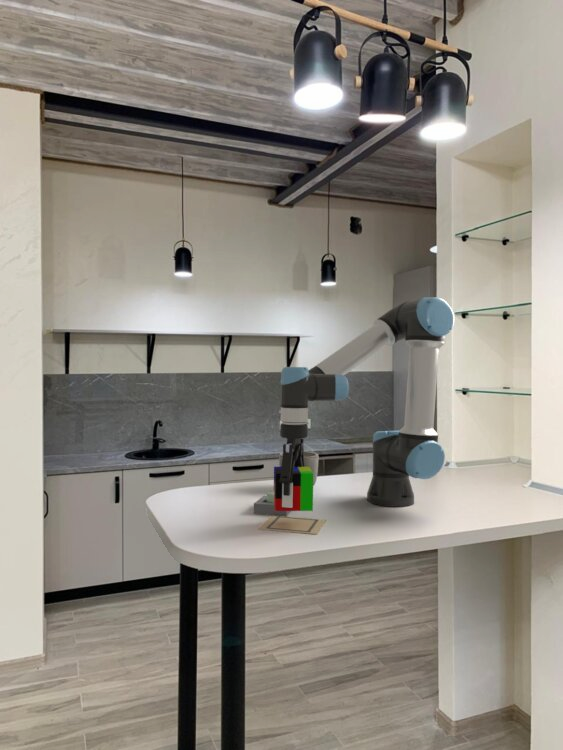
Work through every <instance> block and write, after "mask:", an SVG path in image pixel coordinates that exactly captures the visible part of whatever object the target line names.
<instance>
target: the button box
mask: <svg viewBox="0 0 563 750" xmlns="http://www.w3.org/2000/svg"><path fill="white" fill-rule="evenodd" d="M266 496H267V495H262V496H261V497H260V498H259V499H257V501H255V502H254V503H253V514H256V515H257V514H258V515H267V516H268V515H270V516H272V515H273V516H285V517H288V515H289V514H290V513H291V512H292V511H275V506H274V503H266Z"/></svg>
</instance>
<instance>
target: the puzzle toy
mask: <svg viewBox="0 0 563 750" xmlns="http://www.w3.org/2000/svg"><path fill="white" fill-rule="evenodd" d="M280 475H281V467H279V466H273V492H274V506H275V511H291V512H313V511H314V486H313V472H312V471H311V469H310V467H294V471H293V477H292V483H293V507H292V508H287V507H282V483H279V479H280ZM287 478H288V477H287Z"/></svg>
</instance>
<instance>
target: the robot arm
mask: <svg viewBox="0 0 563 750" xmlns="http://www.w3.org/2000/svg"><path fill="white" fill-rule="evenodd" d="M454 325H455V314H454V312H453V309H452V307H451V306H450V305H449V303H448V302H447V301H446V300H445V299H443V298H441V297H435V296H431V297H430V296H429V297H428V296H427V297H423V298H420V299H419V298H418V299H415V300H406V301H403V302H401V303H399V304H396V305H395V306H394V307H393V308H391V309H389V310H388V311H386V312H385V313H384V314H382V315H381V316H380V317H378V318H377V319H375V320H374V321H373V323H372V326H371V327H369V328H368V329H366V330H365V331H363V332H362V333H361V334H359V335H358V336H356V337H355V338H354V339H351V340H350V341H349V342H348V343H346V344H345V345H344V346H342V347H341V348H340V347H339V349H338V350H336V351H334V352H333V353H331V354H330V355H329V356H327V357H326V358H325V359H323V360H322V361H320V362H319V363H317V364H316V365H315V366H313V367H312V368H310V369H309V368H308V367H306V366H303V367H302V366H299V367H298V366H285V367H283V368H282V370H281V374H280V383H279V384H280V409H279V411H278V413H279V414H280V422H282V423H280V425H279V427H280V428H279V429H280V430H279V432H280V433H279V437H281V438H283V439H284V438H285V439H286V443H283V445H282V452H283V457H282V466H281V475H280V479H279V483H282V507H287V508H292V507H293V483H292V477H293V471H294V467H305V460H304V451H305V450H304V442H305V441H304V439H306V438H307V437H308V424H307V422H308V420H309V402H336V401H337V402H338V401H339V402H340V401H344V400H345V399H347V397H348V395H349V391H350V384H349V381H348V378H347V377H346V376H345V375H347V374H349V373H350V372H351V371H352V370H353V369H355V368H356V367H358V366H360V365H361V364H362V363H364V362H365V361H367V360H369V359H370V358H371V357H372V356H373V355H375V354H376V353H378V352H380V351H381V350H382V349H383V348H385V347H386V346H389V347H390V346H393V345H395V344H396V343H397V342H399V341H402V340H404V342H405V344H406V345H407V346H408V347H409V354H408V355H409V356H408V366H407V367H408V369H407V381H406V382H407V384H406V385H407V386H406V397H405V398H406V399H405V409H404V410H405V411H404V423H403V424H404V426H403V427H401V428H400V429H399V430H384V431H383V430H381V431H380V430H379V431H376V432H375V433H373V438H372V476H371V477H372V478H371V481H370V482H369V486H368V489H367V492H366V500H367V502H369V503H370V504H374V505H377V506H384V507H406V506H410V505H413V504H414V503H415V493H414V491H413V486H412V483H411V480H410V477H411V478H413V479H420V480H429V479H432V478H433V477H435V476H436V475H437V474H438V473H439V472H440V471H441V470H442V469H443V466H444V463H445V459H446V457H445V454H446V453H445V451H444V450H445V449H444V448H442V445H441V444H439V434H438V432H437V431H436V430H435V429H434V428H435V427H434V424H435V413H436V412H435V408H436V397H437V395H436V394H437V380H438V368H439V367H438V364H439V353H440V352H439V350H440V348H442V347H443V346H444V345H445V343H446V340H445V339H446V335H448V334H449V333H450V331H452V329H453V327H454ZM287 477H288V478H287Z"/></svg>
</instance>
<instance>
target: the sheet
mask: <svg viewBox="0 0 563 750" xmlns="http://www.w3.org/2000/svg"><path fill="white" fill-rule="evenodd" d="M326 522H327V519H320V518H319V519H318V518H306V517H294V516H278V515H270V517H269V518H268V519H266V520H265V521H264V522H263V523H262V524H261V525H260V526H259V527H258V528H257V529H258V530H260V529H262V530H261V531H271V530H274V531H273V532H283V533H292V534H293V533H295V534H305V535H319V532H320V531H321V529H322V527H323V526H324V524H326Z"/></svg>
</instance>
